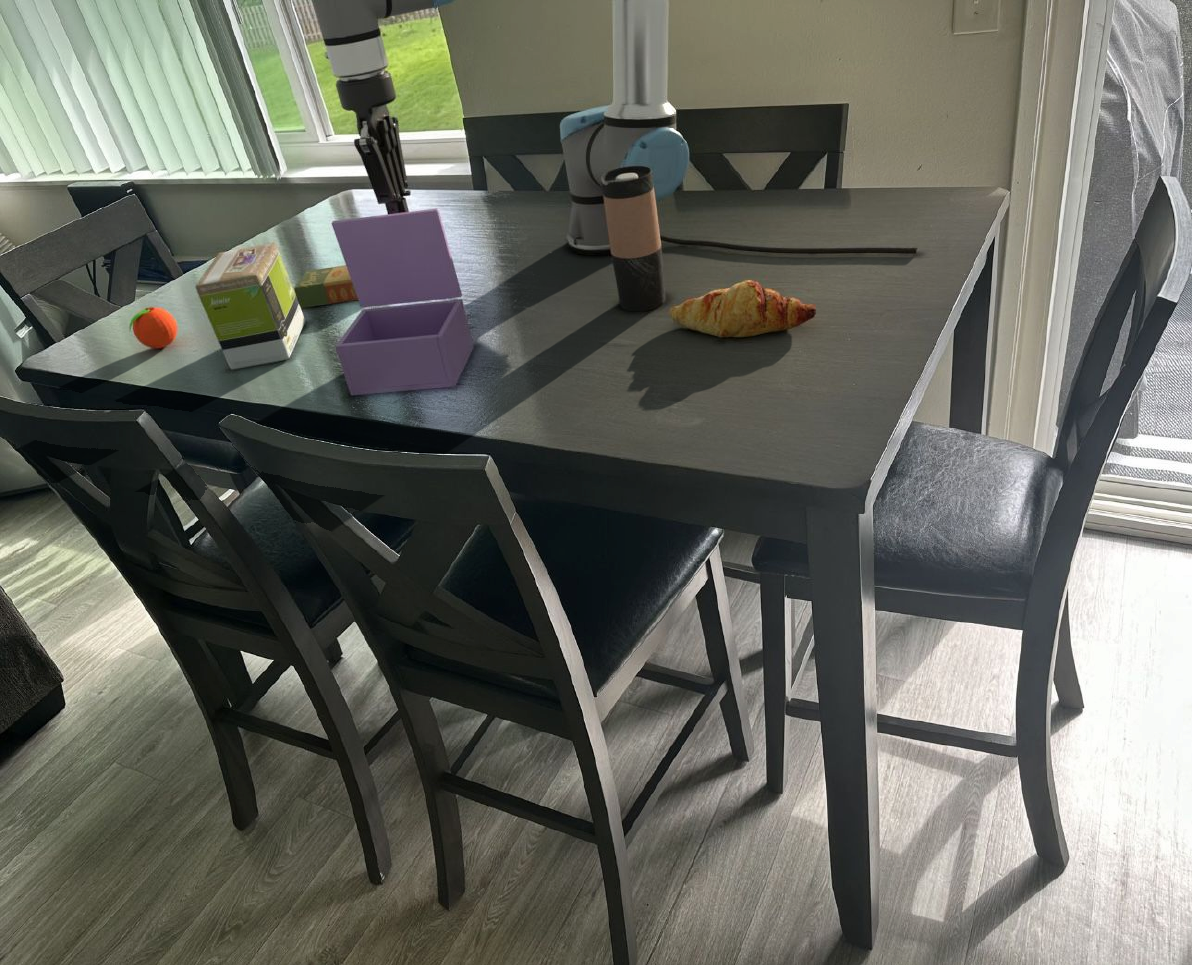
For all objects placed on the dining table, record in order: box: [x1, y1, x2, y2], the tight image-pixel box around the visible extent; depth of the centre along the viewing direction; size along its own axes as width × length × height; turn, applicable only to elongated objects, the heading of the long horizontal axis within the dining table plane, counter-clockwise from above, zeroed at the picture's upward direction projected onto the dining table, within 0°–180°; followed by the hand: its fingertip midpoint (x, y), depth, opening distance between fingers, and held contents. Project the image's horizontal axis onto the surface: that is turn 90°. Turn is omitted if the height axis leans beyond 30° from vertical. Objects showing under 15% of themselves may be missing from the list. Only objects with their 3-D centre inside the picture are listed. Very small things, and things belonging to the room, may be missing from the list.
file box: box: [334, 298, 475, 396], centre depth 135 cm, size 13×16×8 cm
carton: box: [293, 264, 359, 309], centre depth 168 cm, size 8×16×4 cm, turn 88°
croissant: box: [669, 279, 817, 338], centre depth 132 cm, size 21×10×8 cm, turn 70°
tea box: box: [194, 241, 306, 370], centre depth 150 cm, size 15×10×15 cm
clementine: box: [128, 306, 178, 349], centre depth 159 cm, size 8×7×7 cm
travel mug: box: [601, 166, 666, 312], centre depth 140 cm, size 8×8×20 cm
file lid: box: [331, 208, 463, 308], centre depth 134 cm, size 13×16×1 cm
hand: (406, 243), depth 138 cm, fingers closed
